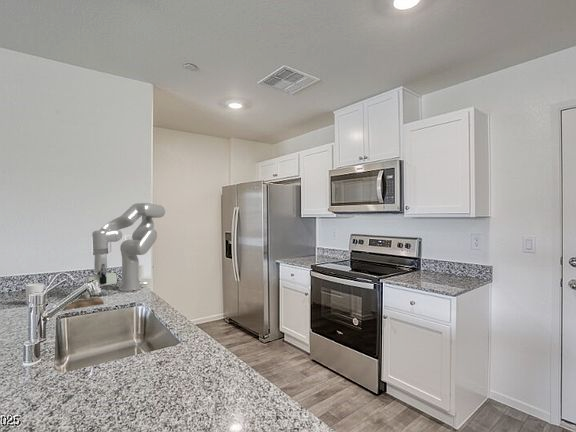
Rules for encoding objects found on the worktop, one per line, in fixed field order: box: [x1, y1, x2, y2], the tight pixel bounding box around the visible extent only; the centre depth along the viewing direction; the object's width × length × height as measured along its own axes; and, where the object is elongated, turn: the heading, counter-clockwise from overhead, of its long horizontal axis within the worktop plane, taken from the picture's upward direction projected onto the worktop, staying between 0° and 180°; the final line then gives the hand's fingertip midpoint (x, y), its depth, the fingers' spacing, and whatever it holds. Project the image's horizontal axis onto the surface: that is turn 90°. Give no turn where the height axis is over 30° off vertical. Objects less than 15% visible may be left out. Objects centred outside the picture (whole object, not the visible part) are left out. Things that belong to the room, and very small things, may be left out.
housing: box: [86, 272, 118, 287], centre depth 182 cm, size 14×6×6 cm, turn 131°
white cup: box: [24, 282, 45, 306], centre depth 169 cm, size 8×8×10 cm
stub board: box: [53, 293, 104, 311], centre depth 164 cm, size 20×12×5 cm, turn 131°
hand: (101, 282), depth 182 cm, fingers closed on housing, 6 cm apart
